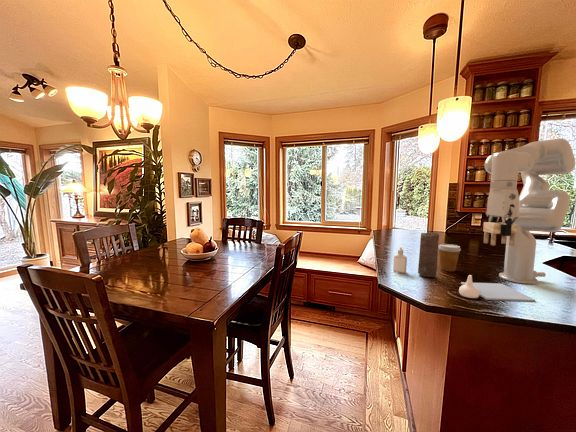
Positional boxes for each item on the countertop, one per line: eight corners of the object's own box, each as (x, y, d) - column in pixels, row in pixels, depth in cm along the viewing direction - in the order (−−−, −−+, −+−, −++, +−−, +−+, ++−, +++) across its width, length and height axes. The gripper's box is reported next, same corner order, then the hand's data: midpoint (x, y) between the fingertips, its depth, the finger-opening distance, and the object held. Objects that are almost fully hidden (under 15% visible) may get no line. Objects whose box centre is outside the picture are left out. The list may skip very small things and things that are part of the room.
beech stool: (504, 243, 98) (506, 222, 97) (515, 246, 93) (517, 224, 92) (482, 242, 99) (483, 222, 98) (492, 245, 93) (493, 224, 93)
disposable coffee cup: (459, 268, 127) (460, 245, 126) (459, 273, 119) (461, 248, 118) (437, 265, 132) (438, 243, 131) (436, 270, 124) (437, 246, 123)
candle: (439, 279, 111) (441, 234, 109) (420, 278, 112) (423, 234, 110) (432, 274, 118) (435, 231, 116) (415, 273, 119) (417, 231, 118)
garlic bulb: (458, 292, 98) (457, 272, 98) (478, 294, 95) (477, 273, 95) (459, 298, 93) (458, 276, 93) (480, 300, 90) (479, 278, 89)
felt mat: (501, 285, 105) (501, 283, 104) (535, 301, 89) (535, 299, 89) (460, 283, 106) (460, 282, 106) (486, 299, 90) (486, 298, 90)
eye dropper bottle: (400, 274, 119) (401, 248, 117) (391, 270, 124) (392, 246, 123) (407, 272, 120) (408, 248, 119) (398, 269, 125) (399, 245, 124)
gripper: (534, 185, 85) (529, 238, 86) (497, 186, 102) (493, 231, 103) (510, 185, 85) (505, 238, 87) (477, 186, 102) (474, 230, 104)
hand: (499, 233), depth 95 cm, fingers closed on beech stool, 5 cm apart
